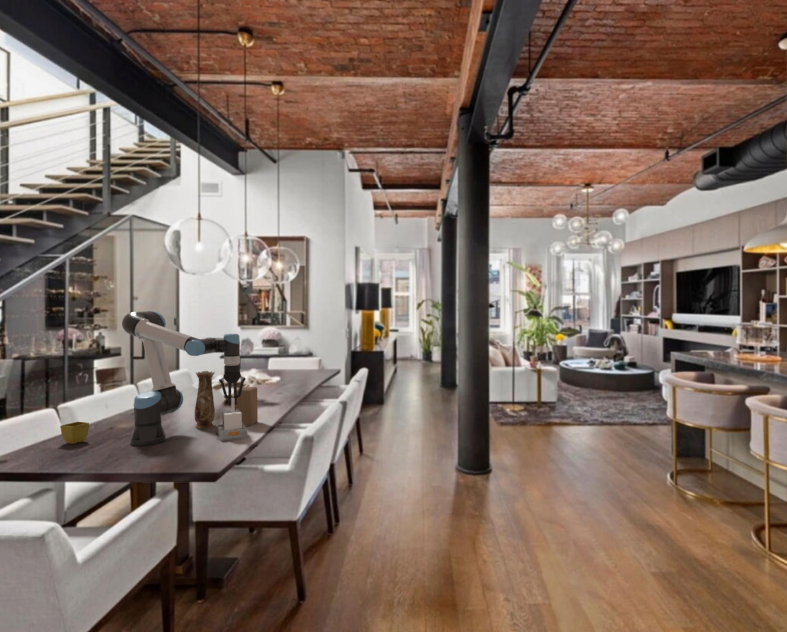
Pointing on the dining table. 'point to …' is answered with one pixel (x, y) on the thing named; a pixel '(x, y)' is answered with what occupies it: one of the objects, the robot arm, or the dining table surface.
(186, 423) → the dining table surface
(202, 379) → the vase
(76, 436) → the flower pot
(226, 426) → the panel
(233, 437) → the frame
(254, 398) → the block
